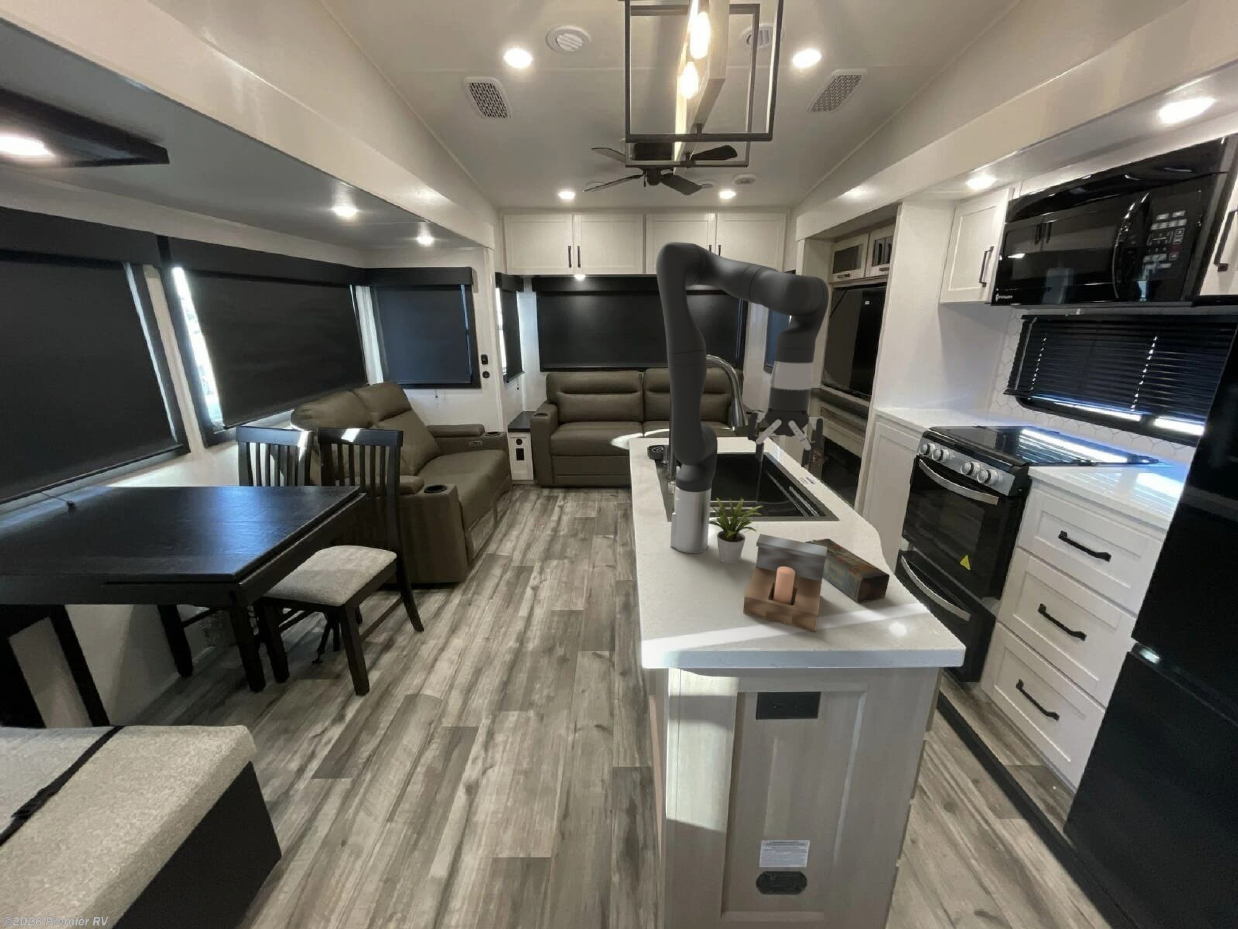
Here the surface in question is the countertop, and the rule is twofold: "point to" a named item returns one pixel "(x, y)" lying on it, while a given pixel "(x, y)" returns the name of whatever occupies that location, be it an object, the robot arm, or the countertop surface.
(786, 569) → the peg
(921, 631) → the countertop surface
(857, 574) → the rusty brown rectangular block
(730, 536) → the house plant
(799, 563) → the socket station
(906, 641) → the countertop surface
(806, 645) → the countertop surface
